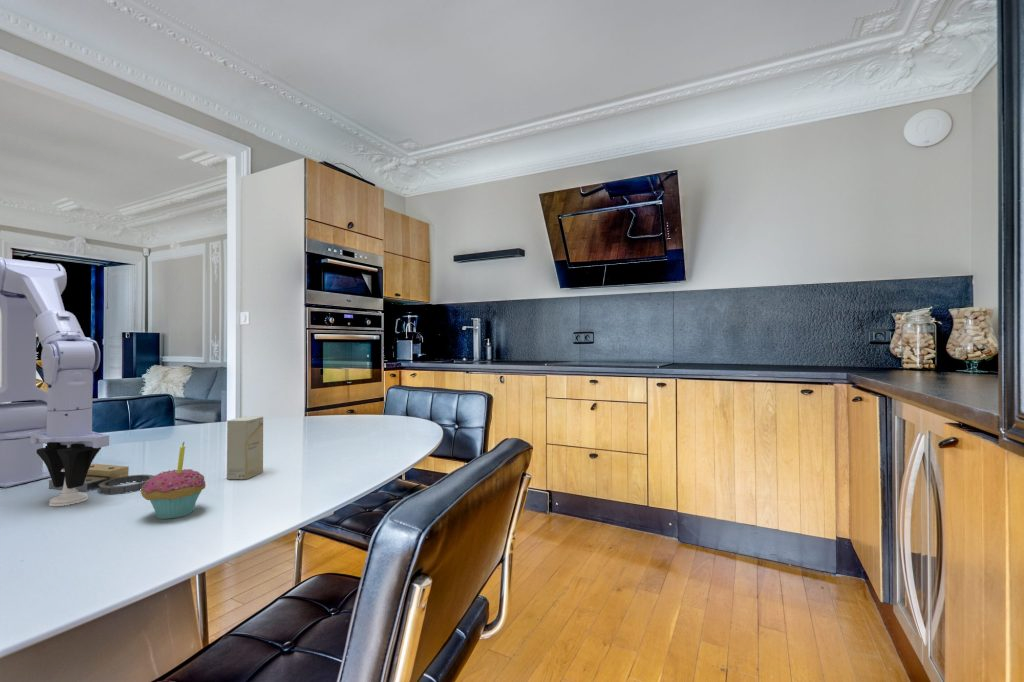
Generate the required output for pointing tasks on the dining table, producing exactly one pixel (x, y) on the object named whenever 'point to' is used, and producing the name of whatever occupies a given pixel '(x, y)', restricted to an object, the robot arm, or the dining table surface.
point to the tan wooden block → (107, 471)
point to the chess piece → (68, 495)
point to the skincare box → (244, 447)
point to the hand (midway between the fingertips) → (68, 486)
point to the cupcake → (174, 490)
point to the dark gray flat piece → (110, 484)
